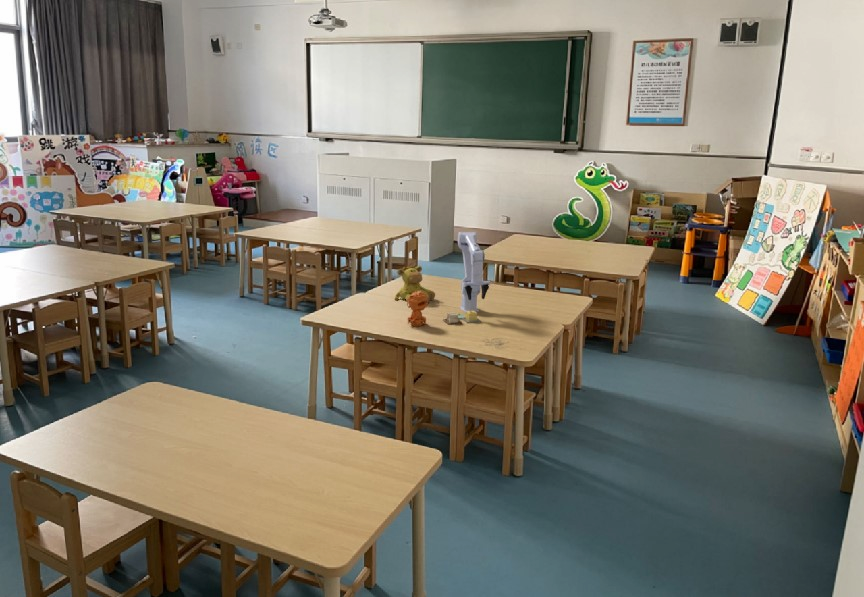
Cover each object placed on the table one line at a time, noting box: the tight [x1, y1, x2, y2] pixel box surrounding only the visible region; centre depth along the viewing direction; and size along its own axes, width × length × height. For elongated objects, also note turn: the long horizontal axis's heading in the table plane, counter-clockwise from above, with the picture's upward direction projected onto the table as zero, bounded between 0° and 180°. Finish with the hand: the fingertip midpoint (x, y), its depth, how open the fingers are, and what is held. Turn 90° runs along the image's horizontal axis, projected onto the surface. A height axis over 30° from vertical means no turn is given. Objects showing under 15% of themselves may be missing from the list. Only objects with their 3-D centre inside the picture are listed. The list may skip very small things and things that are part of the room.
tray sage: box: [457, 312, 466, 320], centre depth 353 cm, size 8×8×1 cm
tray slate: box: [461, 316, 482, 324], centre depth 348 cm, size 8×8×1 cm
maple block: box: [446, 311, 459, 323], centre depth 344 cm, size 4×4×4 cm
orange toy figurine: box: [406, 290, 430, 327], centre depth 337 cm, size 11×11×18 cm
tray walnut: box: [442, 318, 463, 326], centre depth 344 cm, size 8×8×1 cm
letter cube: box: [465, 311, 478, 321], centre depth 347 cm, size 4×4×5 cm
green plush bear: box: [394, 265, 436, 302], centre depth 384 cm, size 20×24×19 cm
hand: (476, 299), depth 352 cm, fingers open, 7 cm apart
